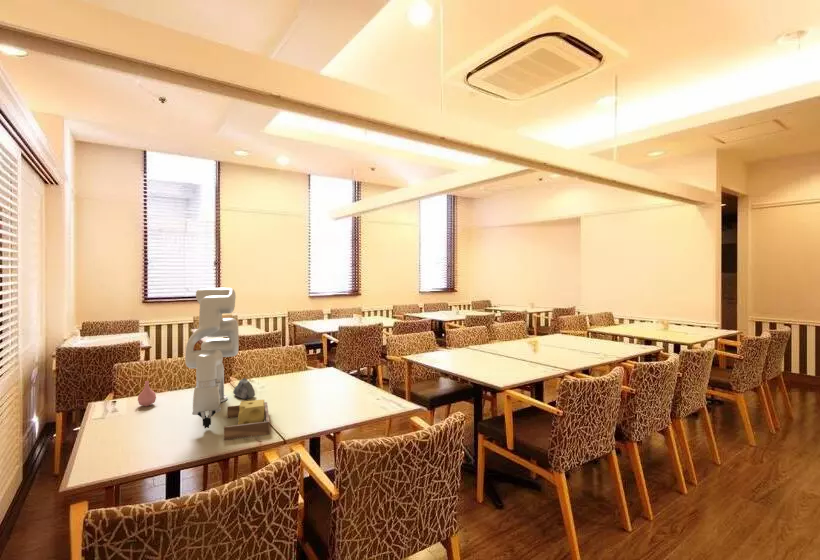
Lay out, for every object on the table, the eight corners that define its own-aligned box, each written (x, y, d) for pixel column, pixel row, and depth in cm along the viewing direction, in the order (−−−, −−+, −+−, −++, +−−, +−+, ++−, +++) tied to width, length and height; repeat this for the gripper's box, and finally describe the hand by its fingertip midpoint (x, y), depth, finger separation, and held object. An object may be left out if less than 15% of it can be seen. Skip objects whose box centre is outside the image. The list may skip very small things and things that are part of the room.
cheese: (237, 432, 167) (237, 408, 167) (240, 422, 178) (240, 400, 177) (264, 429, 170) (264, 406, 170) (265, 420, 180) (265, 398, 180)
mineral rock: (233, 394, 219) (233, 375, 219) (254, 391, 223) (254, 373, 223) (232, 401, 207) (232, 381, 207) (255, 398, 211) (255, 379, 211)
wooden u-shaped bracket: (227, 417, 184) (227, 406, 183) (267, 412, 190) (267, 402, 190) (224, 440, 159) (223, 427, 159) (269, 434, 165) (269, 421, 165)
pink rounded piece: (149, 408, 195) (149, 383, 195) (133, 408, 196) (133, 383, 195) (159, 403, 203) (159, 379, 203) (144, 402, 203) (144, 379, 203)
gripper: (226, 379, 175) (226, 421, 175) (187, 382, 169) (187, 426, 169) (225, 383, 168) (226, 427, 168) (184, 387, 162) (185, 433, 162)
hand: (206, 426), depth 169 cm, fingers closed
